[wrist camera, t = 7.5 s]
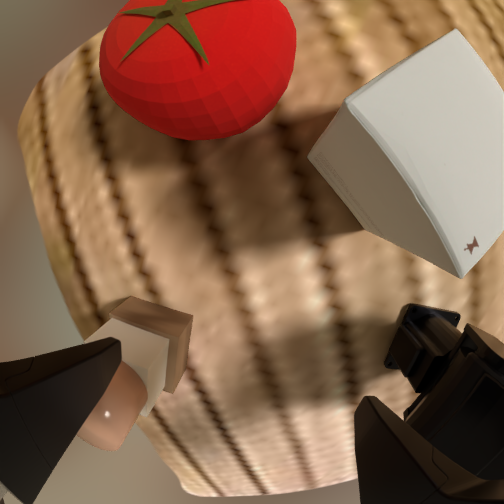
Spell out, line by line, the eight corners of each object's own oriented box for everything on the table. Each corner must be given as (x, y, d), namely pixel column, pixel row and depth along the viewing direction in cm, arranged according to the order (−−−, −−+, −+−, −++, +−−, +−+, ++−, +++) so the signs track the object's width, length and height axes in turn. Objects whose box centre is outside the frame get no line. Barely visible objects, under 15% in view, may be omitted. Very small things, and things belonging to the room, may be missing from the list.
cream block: (169, 339, 19) (147, 369, 15) (164, 386, 20) (146, 417, 16) (112, 317, 19) (84, 341, 15) (113, 365, 20) (90, 391, 16)
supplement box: (427, 175, 18) (546, 175, 6) (363, 232, 20) (460, 289, 8) (372, 100, 17) (458, 23, 5) (302, 154, 19) (338, 101, 7)
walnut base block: (194, 314, 23) (178, 337, 19) (186, 367, 24) (173, 393, 20) (132, 295, 23) (109, 313, 19) (130, 348, 24) (111, 369, 21)
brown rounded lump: (147, 368, 15) (115, 415, 11) (148, 418, 16) (125, 461, 12) (83, 342, 15) (44, 377, 11) (91, 393, 16) (62, 428, 12)
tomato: (254, 172, 20) (229, 154, 9) (122, 121, 19) (34, 92, 9) (314, 51, 17) (335, -34, 7) (182, 15, 17) (134, -54, 7)
